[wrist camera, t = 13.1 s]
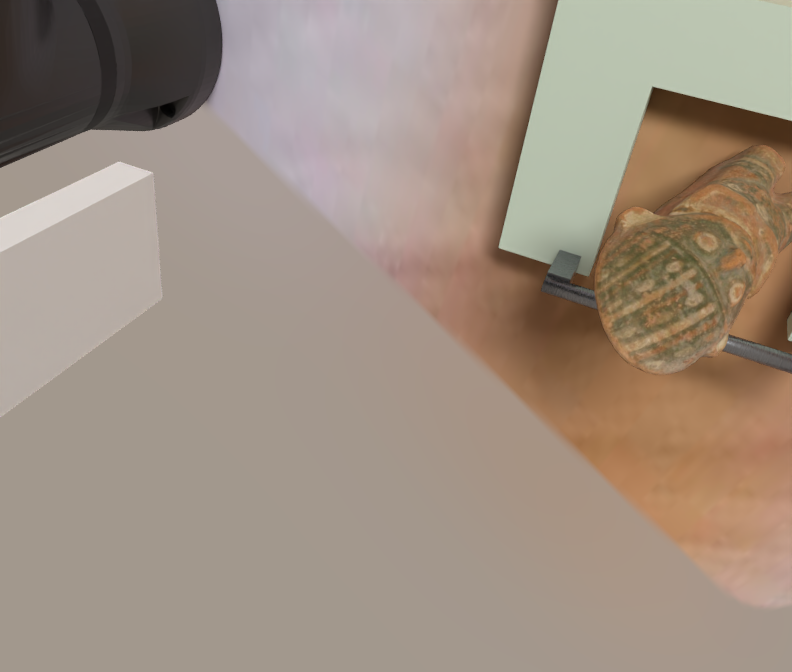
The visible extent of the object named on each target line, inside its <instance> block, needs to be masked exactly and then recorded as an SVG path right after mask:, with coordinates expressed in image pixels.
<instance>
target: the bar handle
mask: <svg viewBox="0 0 792 672" xmlns="http://www.w3.org/2000/svg"><path fill="white" fill-rule="evenodd" d="M580 259H581V256H579V255H575V254H572V253H569V252H566V251H563V250H559V252H558V254H557V256H556V258H555V259H554V261H553V263H552V265H551V267H550V269H549V271H548V273H547V276H546V278H545V280H544V283H543V286H542V289H541V292H544V293H547V294H550V295H554V296H557V297H560V298H563V299H566V300H569V301H572V302H575V303H578V304H581V305H584V306H587V307H590V308H593V309H596V310H598V309H597V304H596V299H595V293H594V291H593V290H590V289H587V288H584V287H581V286H578V285H575V284H572V282H573V279H574V277H575V275H576V272H577V269H578V266H579V263H580ZM722 351H724V352H727V353H730V354H733V355H736V356H739V357H742V358H745V359H748V360H751V361H754V362H757V363H760V364H763V365H767V366H770V367H773V368H776V369H779V370H782V371H785V372H788V373H791V374H792V354H789V353H786V352H783V351H779V350H776V349H773V348H770V347H767V346H764V345H761V344H758V343H755V342H752V341H748V340H745V339H742V338H739V337H736V336H733V335H730V334H728V341H727V344H726V346H725V347H724V349H723V350H722Z"/></svg>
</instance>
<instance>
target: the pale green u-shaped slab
mask: <svg viewBox="0 0 792 672" xmlns="http://www.w3.org/2000/svg"><path fill="white" fill-rule="evenodd" d="M654 87H657V88H661V89H665V90H669V91H673V92H677V93H681V94H685V95H689V96H693V97H697V98H701V99H705V100H709V101H713V102H717V103H721V104H725V105H730V106H734V107H738V108H742V109H746V110H750V111H754V112H758V113H762V114H766V115H770V116H774V117H778V118H782V119H786V120H790V121H792V0H558V4H557V8H556V12H555V16H554V21H553V25H552V29H551V33H550V37H549V41H548V45H547V49H546V54H545V58H544V62H543V66H542V70H541V74H540V78H539V83H538V87H537V91H536V95H535V99H534V103H533V107H532V111H531V116H530V120H529V124H528V128H527V132H526V136H525V140H524V144H523V149H522V153H521V157H520V161H519V165H518V169H517V173H516V177H515V182H514V186H513V190H512V194H511V198H510V202H509V206H508V210H507V215H506V219H505V223H504V227H503V231H502V235H501V239H500V243H499V248H500V249H503V250H506V251H509V252H513V253H516V254H519V255H522V256H525V257H528V258H531V259H535V260H538V261H541V262H544V263H547V264H550V265H552V263H553V261H554V259H555V258H556V256H557V254H558V252H559V250H563V251H566V252H569V253H572V254H575V255H579V256H581V259H580V263H579V266H578V269H577V272H576V273H579V274H582V275H585V276H588V277H589V275H590V272H591V270H592V268H593V265H594V263H595V261H596V258H597V255H598V252H599V249H600V246H601V243H602V240H603V237H604V234H605V231H606V228H607V225H608V222H609V219H610V216H611V213H612V210H613V207H614V204H615V201H616V198H617V195H618V192H619V189H620V186H621V183H622V181H623V178H624V175H625V172H626V169H627V166H628V163H629V160H630V157H631V154H632V151H633V148H634V145H635V142H636V139H637V136H638V133H639V130H640V127H641V124H642V121H643V118H644V115H645V112H646V109H647V106H648V103H649V100H650V97H651V94H652V91H653V88H654ZM787 337H788V340H789V341H792V312H791V314H790V315H789V317H788V319H787Z"/></svg>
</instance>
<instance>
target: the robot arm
mask: <svg viewBox="0 0 792 672" xmlns="http://www.w3.org/2000/svg"><path fill="white" fill-rule="evenodd" d="M221 54H222V33H221V23H220V17H219V12H218V7H217V4H216V0H0V168H1V167H3V166H6V165H8V164H10V163H13V162H15V161H17V160H20V159H22V158H24V157H27V156H29V155H31V154H34V153H36V152H38V151H40V150H43V149H45V148H47V147H50V146H52V145H55V144H57V143H59V142H62V141H64V140H66V139H68V138H71V137H73V136H75V135H77V134H80V133H82V132H85V131H88V130H90V129H94V130H95V129H96V130H126V131H148V130H155V129H160V128H162V127H166V126H168V125H170V124H173V123H175V122H177V121H179V120H182V119H184V118H186V117H188V116H189V115H191V114H192V113H194V112H195V111H196V110H197V109H199V108H200V107H201V105H202V104H203V103H204V102H205V101H206V99H207V98H208V96H209V95H210V93H211V91H212V89H213V87H214V84H215V82H216V79H217V76H218V72H219V68H220V62H221ZM162 298H163V297H162V283H161V269H160V256H159V242H158V229H157V216H156V200H155V186H154V173H152V172H150V171H146V170H144V169H140V168H137V167H134V166H131V165H128V164H126V163H123V162H120V161H119V162H117V163H115V164H112V165H110V166H108V167H106V168H104V169H102V170H100V171H98V172H96V173H93V174H91V175H89V176H87V177H85V178H83V179H81V180H79V181H77V182H75V183H73V184H70V185H68V186H66V187H64V188H62V189H60V190H58V191H56V192H53V193H52V194H49V195H47V196H45V197H43V198H41V199H39V200H37V201H35V202H32V203H31V204H28V205H26V206H24V207H22V208H20V209H18V210H16V211H13V212H11V213H9V214H7V215H5V216H3V217H1V218H0V417H1V416H3V415H4V414H6V413H7V412H8V411H10V410H11V409H12V408H14V407H15V406H16V405H18V404H19V403H20V402H22V401H23V400H25V399H26V398H27V397H29V396H30V395H31V394H33V393H34V392H36V391H37V390H38V389H39V388H41V387H42V386H44V385H45V384H46V383H47V382H49V381H51V380H52V379H53V378H55V377H56V376H57V375H59V374H60V373H61V372H63V371H64V370H66V369H67V368H68V367H70V366H71V365H72V364H74V363H75V362H76V361H78V360H79V359H80V358H82V357H83V356H85V355H86V354H87V353H89V352H90V351H91V350H93V349H94V348H96V347H97V346H98V345H100V344H101V343H102V342H104V341H105V340H106V339H108V338H109V337H111V336H112V335H113V334H114V333H116V332H117V331H119V330H120V329H121V328H123V327H124V326H126V325H127V324H128V323H129V322H131V321H132V320H134V319H135V318H136V317H138V316H139V315H141V314H142V313H143V312H144V311H146V310H147V309H149V308H150V307H151V306H153V305H154V304H156V303H157V302H158V301H160V300H161V299H162Z"/></svg>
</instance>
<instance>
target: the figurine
mask: <svg viewBox="0 0 792 672" xmlns="http://www.w3.org/2000/svg"><path fill="white" fill-rule="evenodd" d="M784 169H785V161H784V160H783V158H782V157H781V156H780V155H779V154H778V153H777V152H776V151H775V150H774V149H772V148H771V147H769V146H765V145H758V146H752V147H750V148H748V149H746V150H744V151H743V152H741V153H739V154H738V155H736V156H734V157H733V158H731V159H729V160H727V161H724V162H722V163H720V164H718V165H716V166H714V167H712V168H711V169H709V170H708V171H707V172H706V173H705V174H704V175H702V176H701V177H700V178H699V179H697V180H696V181H695V182H694V183H693V184H691V185H690V186H689V187H688V188H687V189H685V190H684V191H683V192H681V193H680V194H679V195H677V196H675V197H674V198H672V199H671V200H669V201H668V202H666V203H665V204H663V205H662V206H661V207H659V208H658V209H657V210H656V211H655V212H654V213H652V212H650V211H649V210H646V209H644V208H640V207H631V208H629V209H627V210H625V211H624V212H622V213H621V214H619V215H618V217H617V218H616V222H615V227H614V232H613V234H612V235H611V236H610V237H609V238H608V240H607V242H606V244H605V245H604V247H603V249H602V250H601V252H600V254H599V258H598V262H597V263H596V266H595V273H594V293H595V299H596V304H597V309H598V313H599V317H600V320H601V323H602V326H603V329H604V331H605V333H606V335H607V337H608V339H609V341H610V342H611V344H612V346H613V347H614V349H615V350H616V351H617V353H618V354H619V355H620V356H621V357H622V358H623V359H624V360H625V361H626V362H627V363H629V364H631V365H632V366H634V367H636V368H638V369H640V370H642V371H644V372H647V373H650V374H655V375H667V374H672V373H676V372H679V371H682V370H684V369H686V368H688V367H689V366H690V365H692V364H693V363H695V362H696V361H697V360H698V359H699V358H700V357H708V358H711V357H716V356H717V355H718V354H719V353H720V352H721V351H722V350H723V349H724V347H725V346H726V344H727V341H728V334H729V331H730V329H731V327H732V325H733V323H734V322H735V320H736V318H737V316H738V314H739V312H740V310H741V308H742V307H743V305H744V303H745V302H746V300H747V299H749V298H751V297H752V296H754V295H755V294H756V293H757V292H759V290H760V289H761V287H762V286H763V284H764V283H765V281H766V280H767V278H768V276H769V275H770V273H771V272H772V270H773V268H774V265H775V263H776V260H777V256H778V254H779V253H780V252H781V251H782V250H783V249H784V248H785V247H786V246H787V245H789V244H790V243H791V242H792V192H789V193H784V194H778V193H775V192H774V191H773V189H774V187H775V184H776V183H777V181H778V180H779V179H780V177H781V175H782V174H783V172H784Z"/></svg>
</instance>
